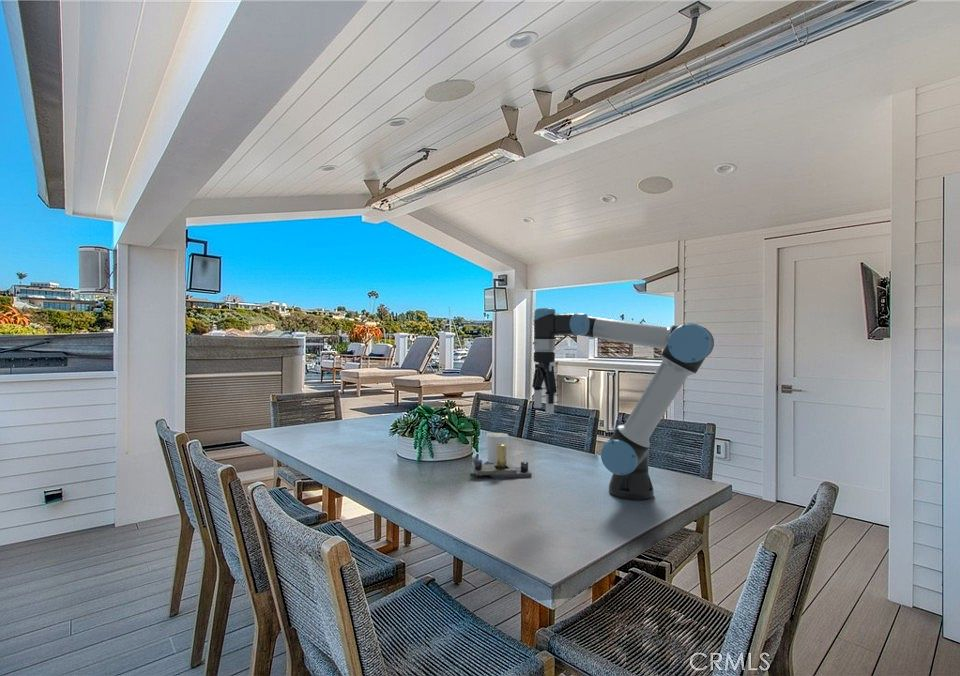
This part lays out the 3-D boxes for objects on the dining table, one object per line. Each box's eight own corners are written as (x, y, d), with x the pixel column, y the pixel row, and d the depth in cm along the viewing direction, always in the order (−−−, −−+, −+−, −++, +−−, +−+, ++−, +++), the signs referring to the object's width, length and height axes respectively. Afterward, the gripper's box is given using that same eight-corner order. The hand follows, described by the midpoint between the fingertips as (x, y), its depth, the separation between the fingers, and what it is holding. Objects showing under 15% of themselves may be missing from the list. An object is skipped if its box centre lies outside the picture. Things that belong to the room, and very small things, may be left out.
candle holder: (508, 464, 208) (509, 436, 209) (486, 464, 209) (486, 436, 209) (507, 459, 218) (508, 432, 218) (486, 458, 218) (486, 432, 219)
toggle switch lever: (505, 473, 195) (505, 443, 195) (507, 475, 191) (507, 445, 191) (495, 473, 194) (495, 443, 194) (497, 476, 190) (498, 446, 190)
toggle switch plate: (524, 470, 199) (524, 455, 199) (531, 477, 189) (531, 461, 189) (472, 472, 195) (472, 457, 195) (476, 479, 185) (476, 463, 185)
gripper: (524, 350, 185) (523, 405, 184) (545, 351, 160) (544, 415, 160) (543, 350, 186) (542, 405, 186) (566, 352, 161) (566, 415, 161)
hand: (543, 410), depth 173 cm, fingers open, 13 cm apart
